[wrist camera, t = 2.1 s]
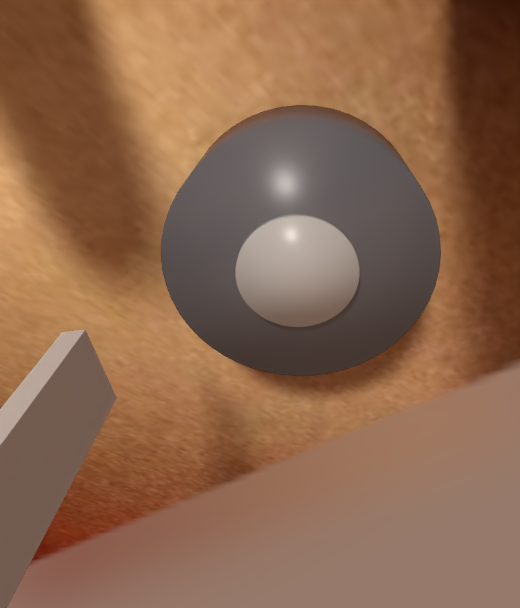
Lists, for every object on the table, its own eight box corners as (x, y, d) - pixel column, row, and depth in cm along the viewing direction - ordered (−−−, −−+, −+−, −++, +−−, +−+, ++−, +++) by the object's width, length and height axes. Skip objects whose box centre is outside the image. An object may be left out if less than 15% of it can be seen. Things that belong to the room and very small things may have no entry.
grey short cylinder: (214, 331, 23) (197, 391, 20) (156, 128, 18) (118, 158, 15) (417, 310, 22) (440, 371, 18) (416, 81, 17) (448, 101, 13)
